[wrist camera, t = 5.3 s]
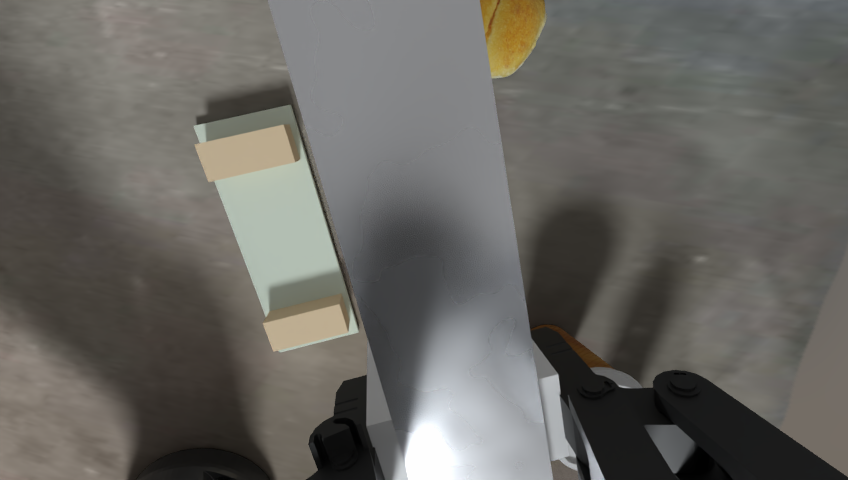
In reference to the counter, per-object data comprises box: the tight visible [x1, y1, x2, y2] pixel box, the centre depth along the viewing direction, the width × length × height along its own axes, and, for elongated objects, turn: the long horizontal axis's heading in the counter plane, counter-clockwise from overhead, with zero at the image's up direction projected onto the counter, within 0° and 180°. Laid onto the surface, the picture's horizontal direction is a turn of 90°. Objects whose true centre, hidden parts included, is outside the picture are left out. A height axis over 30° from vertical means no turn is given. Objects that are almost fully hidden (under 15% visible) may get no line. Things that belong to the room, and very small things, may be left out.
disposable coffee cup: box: [530, 325, 642, 471], centre depth 38 cm, size 10×10×12 cm
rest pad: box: [194, 105, 359, 353], centre depth 36 cm, size 8×22×3 cm, turn 12°
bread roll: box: [480, 0, 547, 78], centre depth 32 cm, size 8×9×4 cm
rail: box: [268, 0, 553, 480], centre depth 12 cm, size 4×24×4 cm, turn 12°
